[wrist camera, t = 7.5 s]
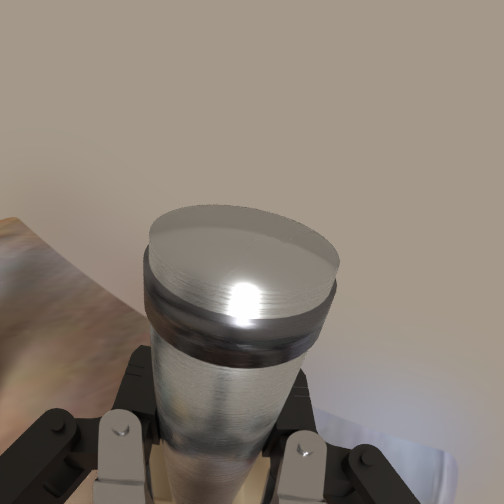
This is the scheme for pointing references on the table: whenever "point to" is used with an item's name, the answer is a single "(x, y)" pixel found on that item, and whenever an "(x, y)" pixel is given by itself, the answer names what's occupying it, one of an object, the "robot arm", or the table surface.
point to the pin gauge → (228, 335)
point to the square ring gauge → (245, 499)
